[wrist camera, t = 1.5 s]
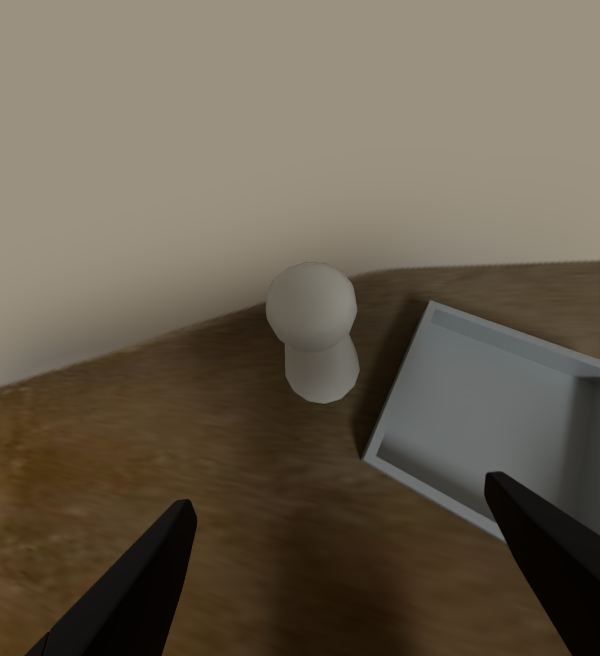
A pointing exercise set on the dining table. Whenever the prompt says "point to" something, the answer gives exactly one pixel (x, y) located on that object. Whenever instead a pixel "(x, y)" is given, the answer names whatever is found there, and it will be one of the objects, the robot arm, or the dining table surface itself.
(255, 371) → the dining table surface
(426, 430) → the tray
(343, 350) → the salt shaker
